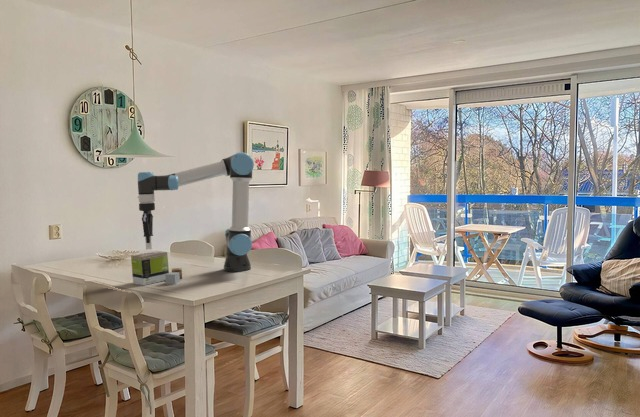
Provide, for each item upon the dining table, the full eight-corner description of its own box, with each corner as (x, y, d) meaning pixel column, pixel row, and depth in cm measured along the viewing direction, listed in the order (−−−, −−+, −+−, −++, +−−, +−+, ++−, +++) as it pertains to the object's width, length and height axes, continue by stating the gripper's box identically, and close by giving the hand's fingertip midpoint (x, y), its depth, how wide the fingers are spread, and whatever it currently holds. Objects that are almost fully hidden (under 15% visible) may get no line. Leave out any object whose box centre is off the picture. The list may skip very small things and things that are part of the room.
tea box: (158, 277, 257) (157, 250, 256) (169, 280, 251) (168, 251, 250) (132, 283, 246) (130, 254, 245) (143, 286, 239) (141, 256, 238)
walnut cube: (182, 277, 258) (181, 267, 257) (182, 279, 253) (181, 269, 252) (172, 278, 256) (171, 268, 256) (172, 280, 251) (171, 270, 251)
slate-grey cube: (179, 282, 246) (179, 272, 245) (175, 284, 241) (174, 274, 240) (170, 282, 246) (170, 272, 246) (165, 284, 242) (165, 274, 241)
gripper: (142, 202, 251) (144, 247, 253) (135, 203, 238) (137, 251, 240) (157, 201, 252) (159, 246, 254) (151, 203, 239) (153, 250, 241)
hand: (149, 249), depth 247 cm, fingers closed
